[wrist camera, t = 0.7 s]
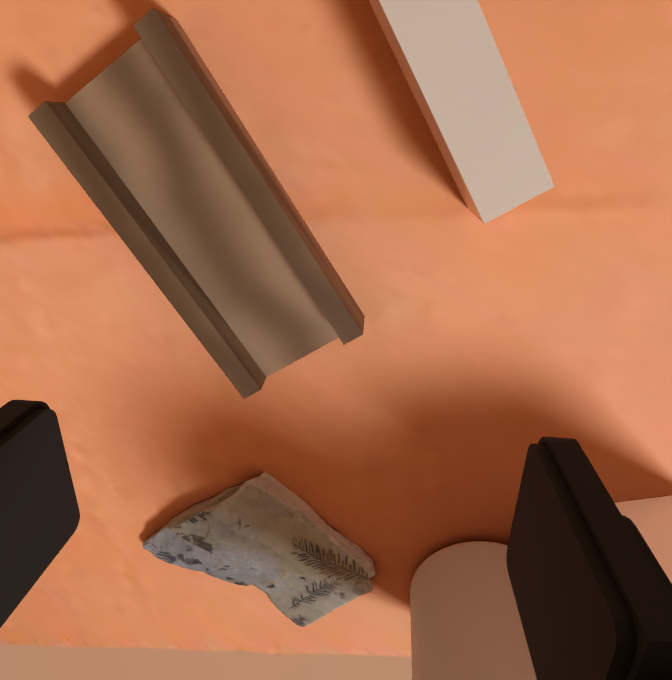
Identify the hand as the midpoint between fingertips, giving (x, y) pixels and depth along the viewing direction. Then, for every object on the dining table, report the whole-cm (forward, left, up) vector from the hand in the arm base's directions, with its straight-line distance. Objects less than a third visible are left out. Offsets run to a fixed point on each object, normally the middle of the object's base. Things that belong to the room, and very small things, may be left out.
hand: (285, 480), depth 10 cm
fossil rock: (+23, +21, -27) cm, 41 cm away
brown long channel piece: (+8, -5, -26) cm, 28 cm away
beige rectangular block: (-9, -5, -27) cm, 29 cm away
